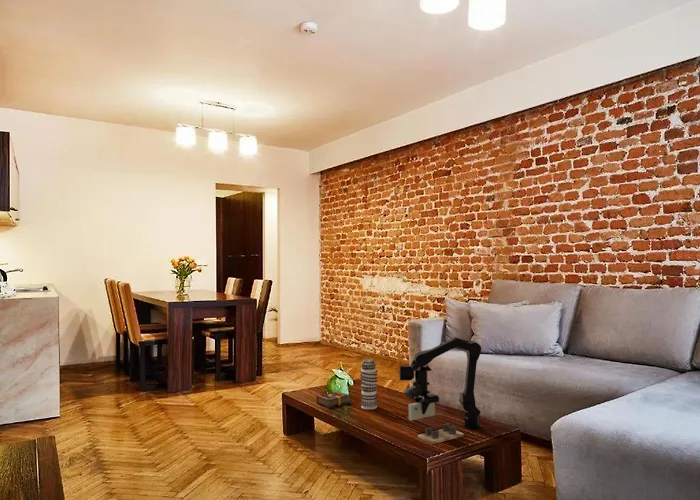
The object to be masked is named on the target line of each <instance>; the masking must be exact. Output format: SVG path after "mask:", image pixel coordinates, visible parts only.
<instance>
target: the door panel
mask: <svg viewBox="0 0 700 500" xmlns="http://www.w3.org/2000/svg"><path fill="white" fill-rule="evenodd" d="M435 415H436V402H435V403H430V404H429V406H428V408H427V410H426V412H425V414H422V405H421V403H420V402H417V403H416V402H413V403H408V420H409V421H415V420H419V419H420V420H421V419H424V418H429V417H434V416H435Z"/></svg>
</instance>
